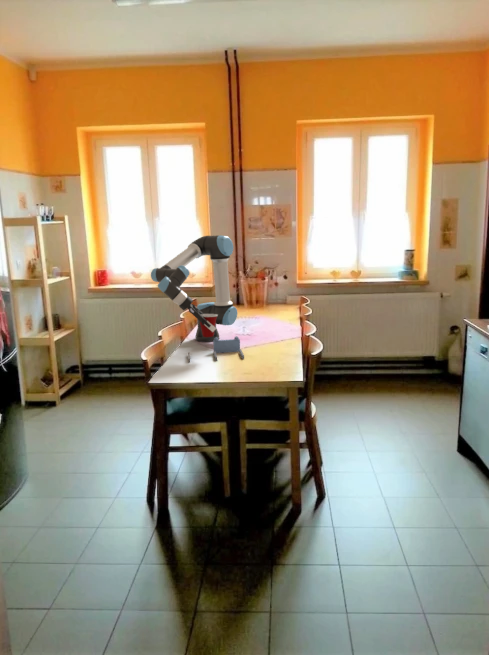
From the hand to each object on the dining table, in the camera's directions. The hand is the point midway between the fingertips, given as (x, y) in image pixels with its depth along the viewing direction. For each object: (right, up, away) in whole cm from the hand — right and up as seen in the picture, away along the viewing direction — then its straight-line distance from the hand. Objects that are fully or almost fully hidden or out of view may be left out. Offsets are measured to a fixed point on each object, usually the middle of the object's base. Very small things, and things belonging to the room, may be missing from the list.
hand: (214, 328), depth 272 cm
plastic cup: (-3, -4, +1) cm, 5 cm away
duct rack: (0, -16, +6) cm, 17 cm away
